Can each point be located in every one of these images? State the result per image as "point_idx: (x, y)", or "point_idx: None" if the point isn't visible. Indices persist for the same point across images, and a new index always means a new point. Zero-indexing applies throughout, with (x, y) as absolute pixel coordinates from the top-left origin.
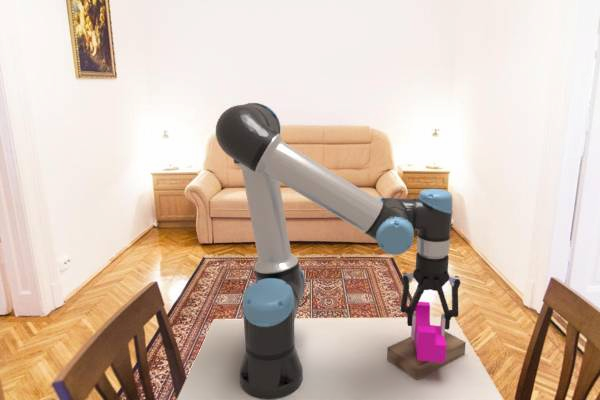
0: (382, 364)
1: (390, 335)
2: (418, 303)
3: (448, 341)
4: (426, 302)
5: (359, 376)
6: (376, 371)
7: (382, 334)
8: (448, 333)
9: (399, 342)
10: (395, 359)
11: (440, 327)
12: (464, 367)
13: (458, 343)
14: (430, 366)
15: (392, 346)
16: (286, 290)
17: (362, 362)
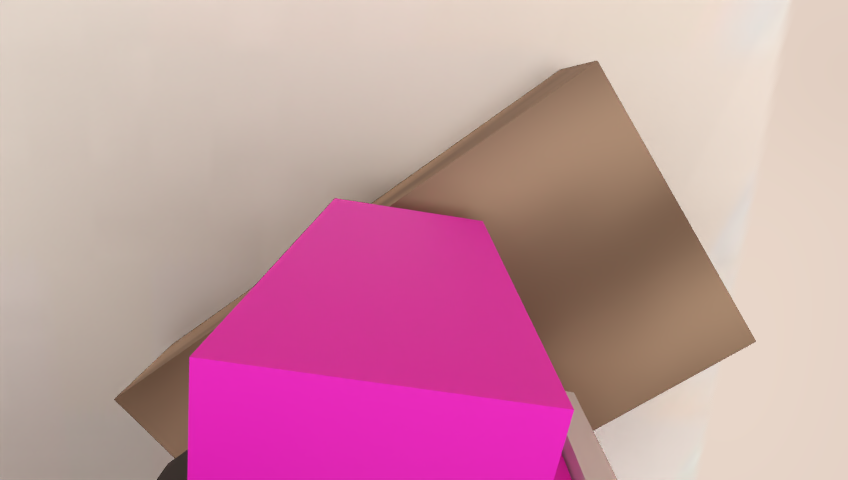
0: None
1: (206, 43)
2: (280, 464)
3: (618, 330)
4: (500, 416)
5: (20, 477)
6: (110, 442)
7: (138, 26)
8: (674, 212)
9: None
10: None
11: (574, 477)
12: (625, 416)
13: (686, 359)
14: None
15: (153, 387)
16: None
17: (20, 367)
